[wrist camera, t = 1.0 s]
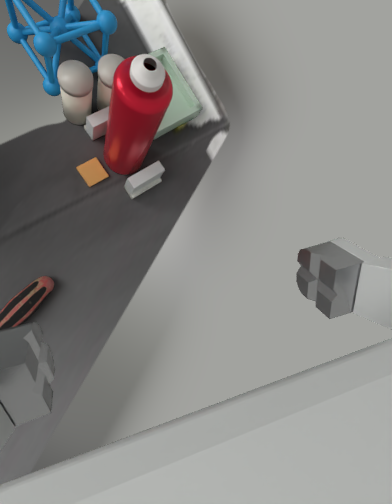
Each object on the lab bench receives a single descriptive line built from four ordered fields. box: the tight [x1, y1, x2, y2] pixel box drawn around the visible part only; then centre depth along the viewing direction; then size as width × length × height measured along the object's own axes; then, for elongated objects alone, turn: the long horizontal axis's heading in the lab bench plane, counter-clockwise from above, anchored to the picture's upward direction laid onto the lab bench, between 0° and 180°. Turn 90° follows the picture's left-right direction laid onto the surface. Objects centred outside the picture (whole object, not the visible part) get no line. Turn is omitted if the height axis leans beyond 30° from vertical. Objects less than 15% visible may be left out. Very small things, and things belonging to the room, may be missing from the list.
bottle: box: [104, 54, 173, 175], centre depth 35 cm, size 5×5×20 cm
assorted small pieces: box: [57, 47, 202, 199], centre depth 42 cm, size 16×20×8 cm
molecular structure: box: [5, 0, 117, 96], centre depth 39 cm, size 10×10×10 cm
